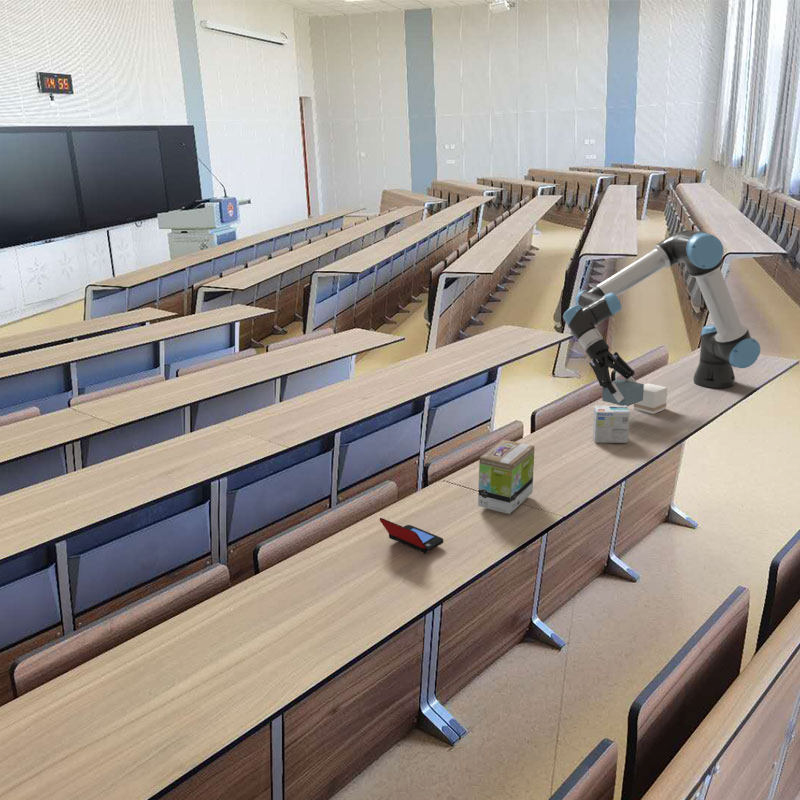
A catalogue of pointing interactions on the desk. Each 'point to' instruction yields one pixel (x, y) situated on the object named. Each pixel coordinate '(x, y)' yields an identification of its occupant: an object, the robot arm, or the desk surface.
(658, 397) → the carton
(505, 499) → the tea box
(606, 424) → the light bulb box
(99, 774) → the desk surface
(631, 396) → the grey-blue square block
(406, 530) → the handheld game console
